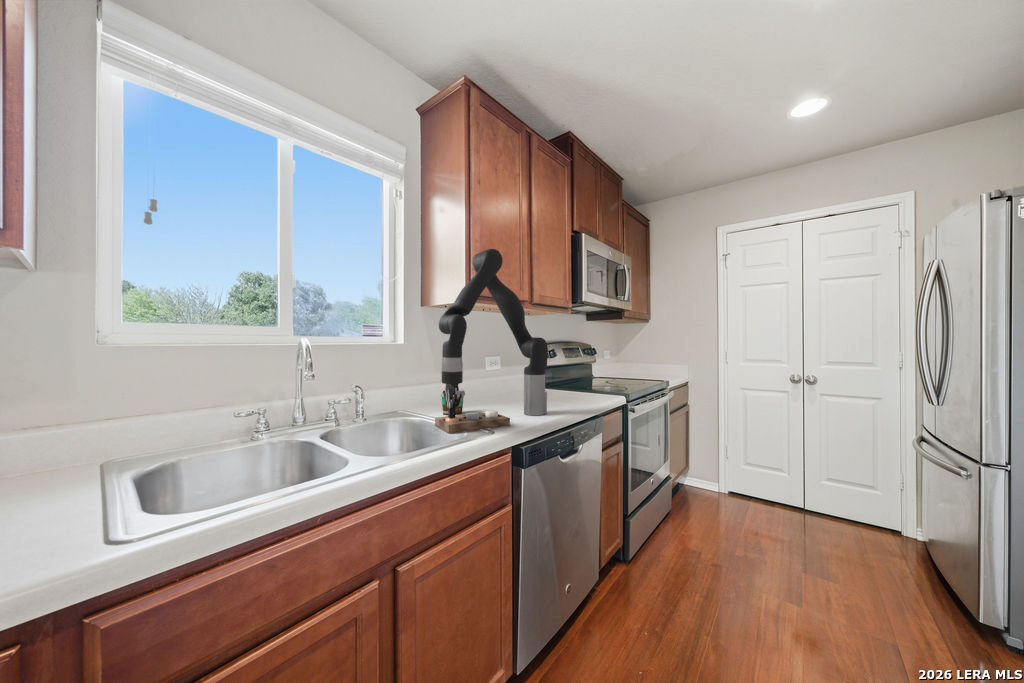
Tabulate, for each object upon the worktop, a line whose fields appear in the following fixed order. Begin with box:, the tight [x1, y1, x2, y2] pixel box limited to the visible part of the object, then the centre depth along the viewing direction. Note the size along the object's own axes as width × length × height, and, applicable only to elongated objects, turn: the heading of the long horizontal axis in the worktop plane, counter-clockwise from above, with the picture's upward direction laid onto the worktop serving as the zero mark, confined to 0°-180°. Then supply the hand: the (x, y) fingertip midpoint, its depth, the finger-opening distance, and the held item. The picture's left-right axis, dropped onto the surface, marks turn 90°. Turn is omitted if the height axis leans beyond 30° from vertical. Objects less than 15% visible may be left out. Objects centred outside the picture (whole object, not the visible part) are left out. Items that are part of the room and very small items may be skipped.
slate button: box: [465, 412, 480, 420], centre depth 142 cm, size 5×5×3 cm
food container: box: [440, 388, 466, 416], centre depth 165 cm, size 12×6×10 cm, turn 143°
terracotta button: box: [445, 416, 459, 422], centre depth 138 cm, size 5×5×3 cm
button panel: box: [434, 412, 511, 434], centre depth 142 cm, size 24×14×3 cm, turn 120°
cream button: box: [484, 410, 499, 418], centre depth 146 cm, size 5×5×3 cm
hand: (451, 418), depth 137 cm, fingers closed
